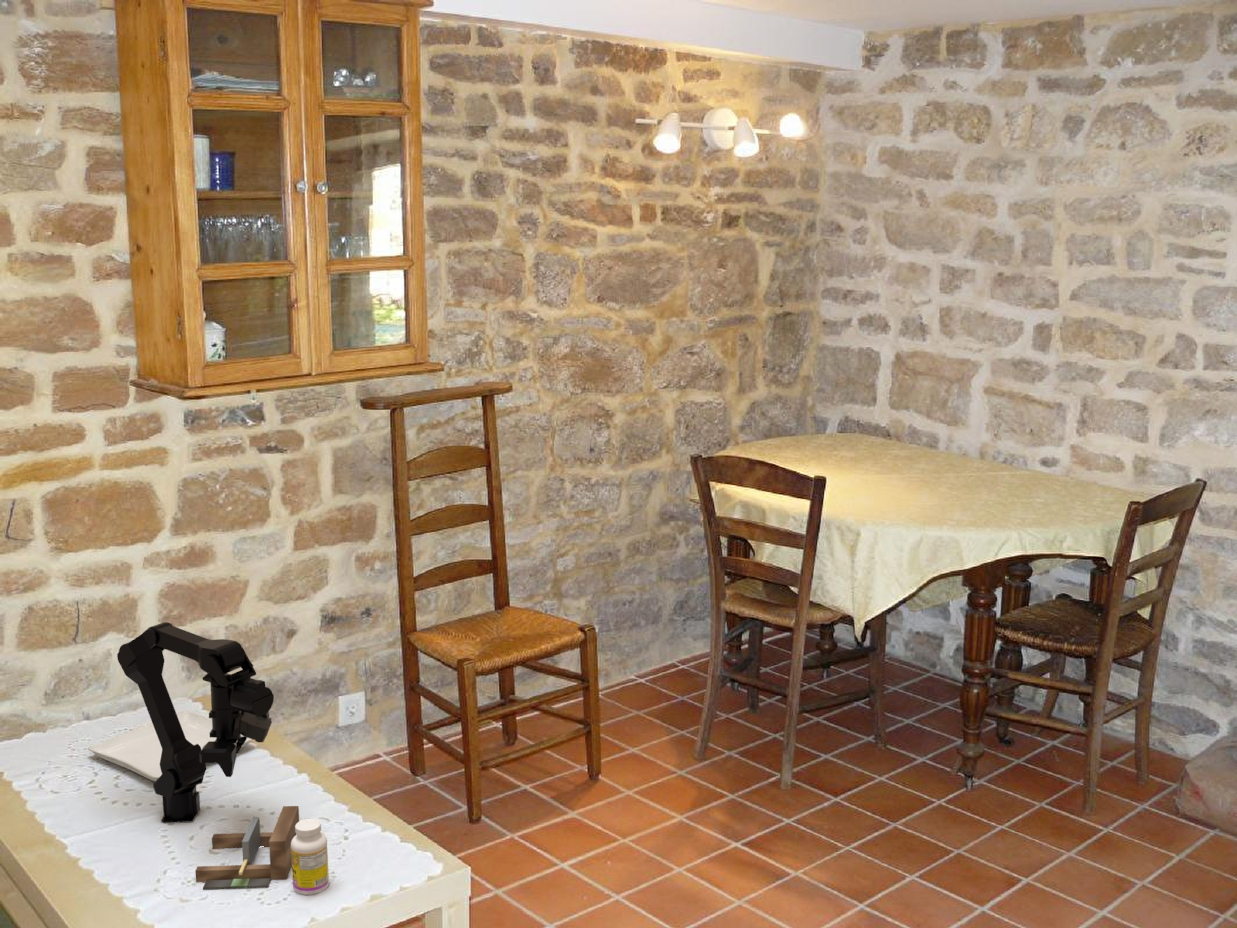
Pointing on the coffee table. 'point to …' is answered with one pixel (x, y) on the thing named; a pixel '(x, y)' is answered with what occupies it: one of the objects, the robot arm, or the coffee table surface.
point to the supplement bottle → (309, 858)
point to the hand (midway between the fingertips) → (229, 775)
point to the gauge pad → (250, 843)
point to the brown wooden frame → (254, 873)
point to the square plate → (152, 745)
